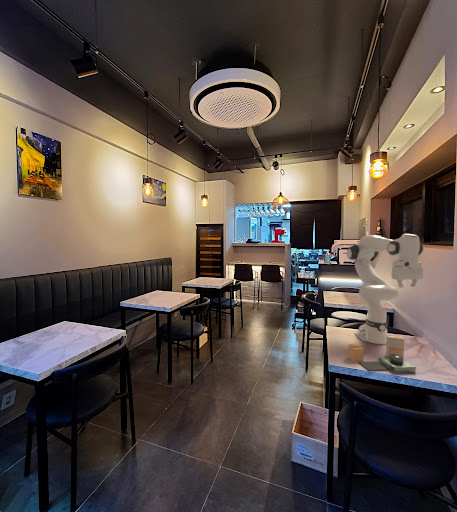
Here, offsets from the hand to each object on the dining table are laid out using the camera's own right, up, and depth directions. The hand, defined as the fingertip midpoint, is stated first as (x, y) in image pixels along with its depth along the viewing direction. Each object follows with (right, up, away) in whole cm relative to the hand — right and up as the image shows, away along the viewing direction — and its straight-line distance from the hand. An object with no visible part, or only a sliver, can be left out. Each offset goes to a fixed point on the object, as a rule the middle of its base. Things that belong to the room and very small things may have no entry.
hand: (406, 287), depth 140 cm
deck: (-9, -43, -4) cm, 44 cm away
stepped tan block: (-27, -42, +4) cm, 50 cm away
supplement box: (-3, -43, +6) cm, 44 cm away
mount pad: (-22, -43, -5) cm, 49 cm away
